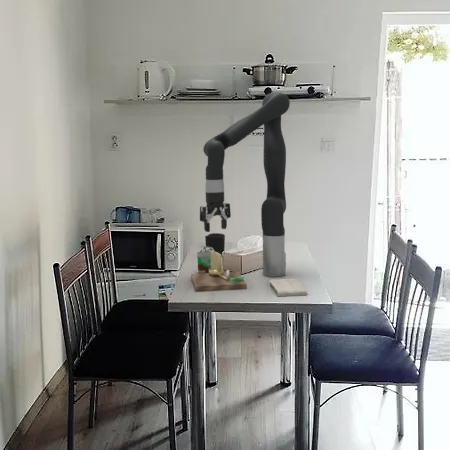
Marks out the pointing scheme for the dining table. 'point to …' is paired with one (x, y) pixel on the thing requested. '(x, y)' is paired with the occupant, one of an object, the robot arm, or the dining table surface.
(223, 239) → the pen holder
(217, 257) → the tan bar with dome
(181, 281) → the dining table surface
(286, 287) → the washcloth
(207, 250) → the food container
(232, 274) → the dial board
